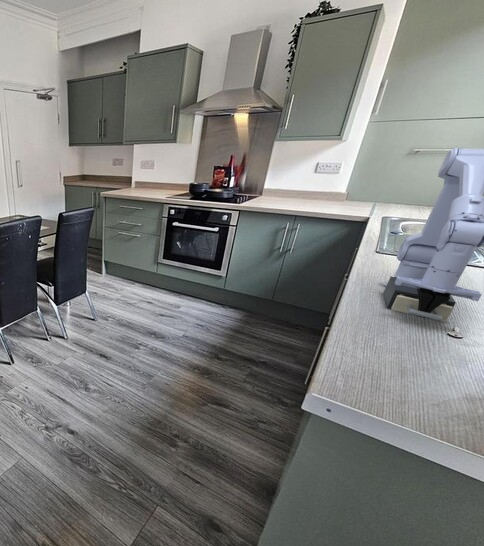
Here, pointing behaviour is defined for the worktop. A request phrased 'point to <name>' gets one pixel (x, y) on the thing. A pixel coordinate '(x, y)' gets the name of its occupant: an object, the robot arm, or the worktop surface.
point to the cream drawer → (411, 307)
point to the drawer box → (394, 289)
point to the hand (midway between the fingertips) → (420, 315)
